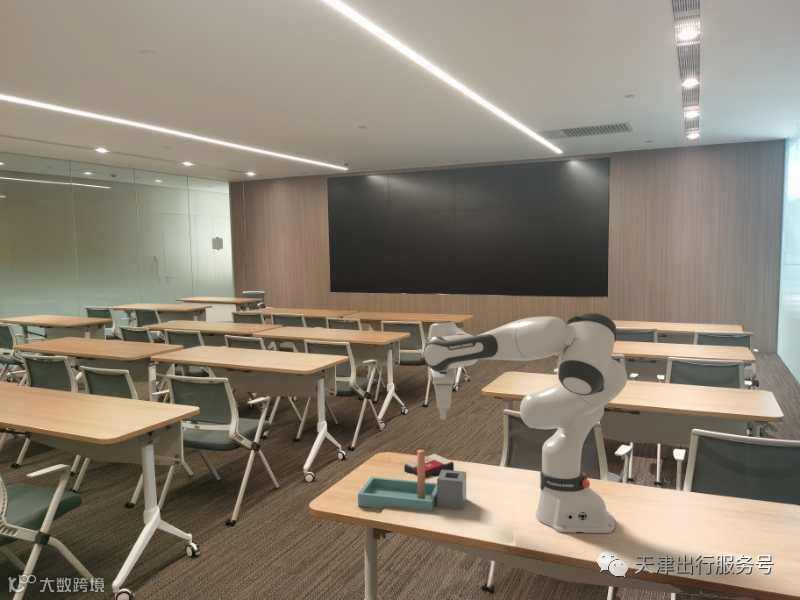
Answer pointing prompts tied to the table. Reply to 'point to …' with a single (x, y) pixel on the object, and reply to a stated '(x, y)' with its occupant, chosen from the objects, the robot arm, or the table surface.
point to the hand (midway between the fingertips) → (442, 415)
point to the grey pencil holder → (451, 489)
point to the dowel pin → (421, 473)
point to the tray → (396, 494)
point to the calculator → (430, 465)
